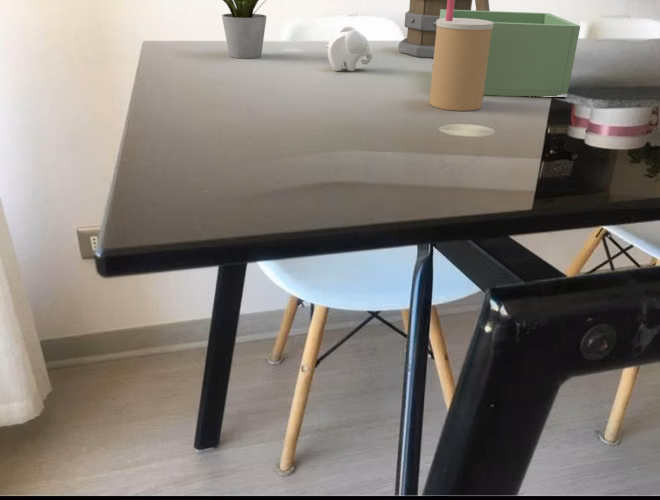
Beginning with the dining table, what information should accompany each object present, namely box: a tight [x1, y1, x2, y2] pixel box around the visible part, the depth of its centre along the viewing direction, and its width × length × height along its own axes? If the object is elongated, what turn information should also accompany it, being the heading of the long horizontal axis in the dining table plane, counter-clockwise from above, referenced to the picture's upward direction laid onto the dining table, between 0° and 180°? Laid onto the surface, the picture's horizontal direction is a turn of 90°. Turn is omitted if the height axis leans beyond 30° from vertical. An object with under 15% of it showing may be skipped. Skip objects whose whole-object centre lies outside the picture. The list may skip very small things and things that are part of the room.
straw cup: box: [428, 0, 494, 112], centre depth 73 cm, size 6×6×14 cm
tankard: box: [398, 0, 491, 59], centre depth 105 cm, size 20×13×15 cm, turn 30°
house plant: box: [221, 0, 267, 59], centre depth 99 cm, size 14×14×16 cm
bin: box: [439, 9, 581, 98], centre depth 86 cm, size 16×16×9 cm
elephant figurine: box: [320, 25, 375, 72], centre depth 93 cm, size 7×8×6 cm
